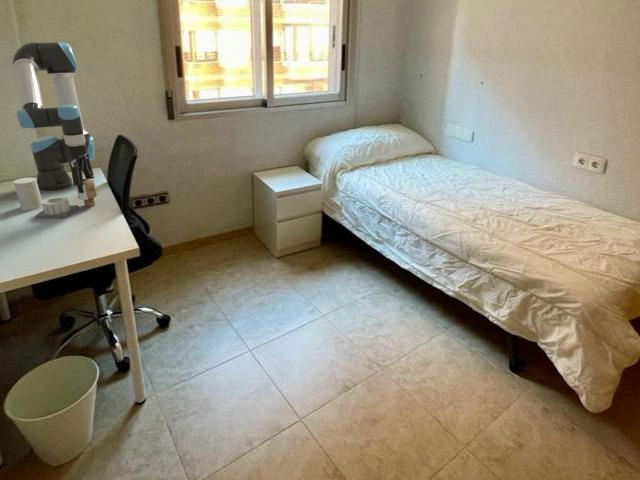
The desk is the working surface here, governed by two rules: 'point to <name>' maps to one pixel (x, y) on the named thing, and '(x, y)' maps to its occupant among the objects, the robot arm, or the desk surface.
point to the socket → (56, 208)
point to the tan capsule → (89, 192)
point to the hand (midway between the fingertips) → (87, 196)
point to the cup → (28, 193)
